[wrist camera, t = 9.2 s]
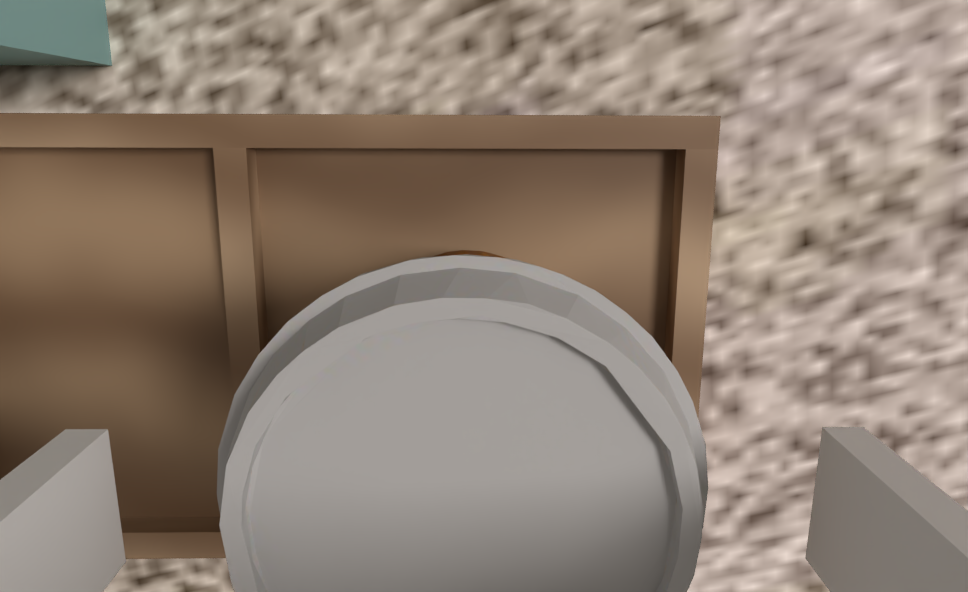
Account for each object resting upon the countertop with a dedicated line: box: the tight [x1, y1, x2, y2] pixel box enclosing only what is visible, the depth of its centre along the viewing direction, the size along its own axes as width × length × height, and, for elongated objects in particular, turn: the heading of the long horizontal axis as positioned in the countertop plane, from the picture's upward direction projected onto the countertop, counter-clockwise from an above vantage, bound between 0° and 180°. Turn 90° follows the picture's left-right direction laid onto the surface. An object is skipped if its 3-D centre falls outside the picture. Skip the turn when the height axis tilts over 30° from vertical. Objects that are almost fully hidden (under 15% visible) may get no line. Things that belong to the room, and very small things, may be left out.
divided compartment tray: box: [0, 113, 721, 559], centre depth 25 cm, size 15×26×2 cm, turn 90°
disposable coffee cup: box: [217, 250, 708, 592], centre depth 19 cm, size 10×10×12 cm
